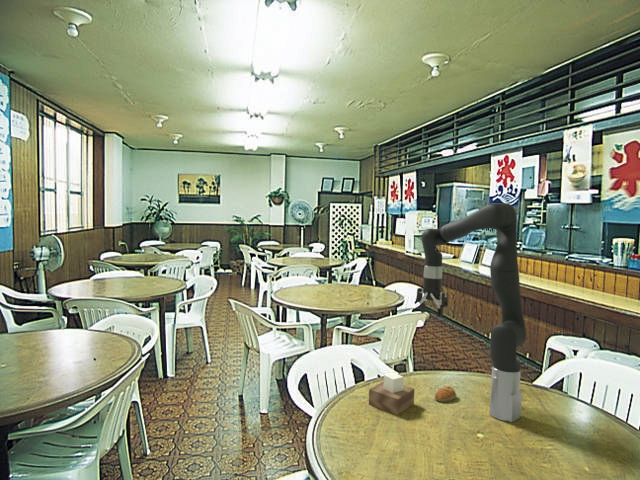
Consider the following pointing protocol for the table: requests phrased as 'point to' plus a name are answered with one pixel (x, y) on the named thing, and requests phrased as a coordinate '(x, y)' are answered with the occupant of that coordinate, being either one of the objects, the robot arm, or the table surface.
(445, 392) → the pastry
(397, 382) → the cube
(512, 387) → the robot arm
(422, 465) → the table surface
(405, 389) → the walnut box
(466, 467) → the table surface
